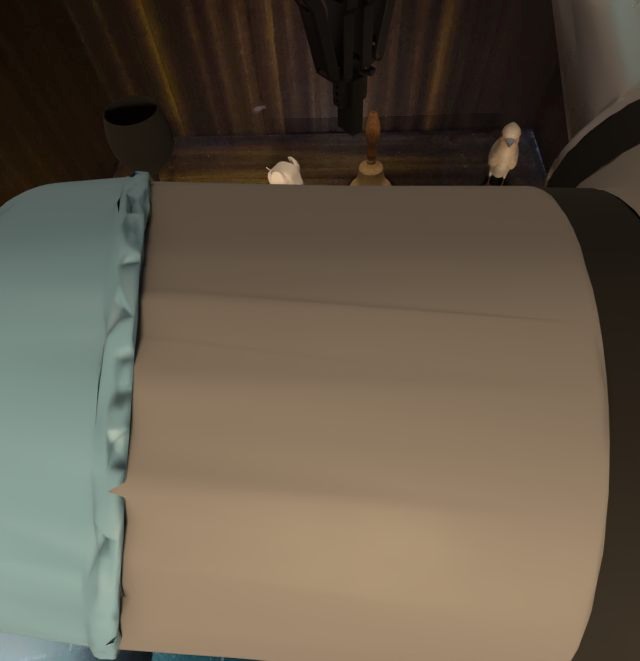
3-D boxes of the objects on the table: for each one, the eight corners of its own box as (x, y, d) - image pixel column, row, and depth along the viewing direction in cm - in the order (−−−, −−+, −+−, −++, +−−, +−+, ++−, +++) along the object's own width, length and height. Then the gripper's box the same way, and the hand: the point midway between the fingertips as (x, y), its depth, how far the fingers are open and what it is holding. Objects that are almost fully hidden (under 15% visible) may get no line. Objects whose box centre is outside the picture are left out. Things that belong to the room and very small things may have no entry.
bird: (476, 209, 94) (495, 136, 82) (485, 163, 101) (504, 90, 89) (504, 213, 93) (527, 140, 81) (510, 167, 100) (533, 93, 88)
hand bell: (341, 184, 100) (340, 107, 87) (379, 171, 101) (383, 94, 88) (361, 210, 95) (363, 133, 82) (400, 196, 97) (408, 118, 84)
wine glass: (127, 216, 97) (83, 119, 81) (161, 183, 102) (126, 86, 86) (171, 233, 94) (135, 135, 78) (204, 198, 99) (176, 100, 83)
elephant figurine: (293, 206, 97) (290, 180, 92) (258, 193, 99) (253, 167, 94) (312, 185, 100) (310, 159, 95) (278, 173, 102) (274, 147, 98)
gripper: (379, -162, 45) (370, 94, 64) (257, -127, 41) (286, 137, 60) (443, -146, 42) (412, 120, 61) (316, -106, 37) (327, 167, 56)
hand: (350, 128), depth 60 cm, fingers closed
